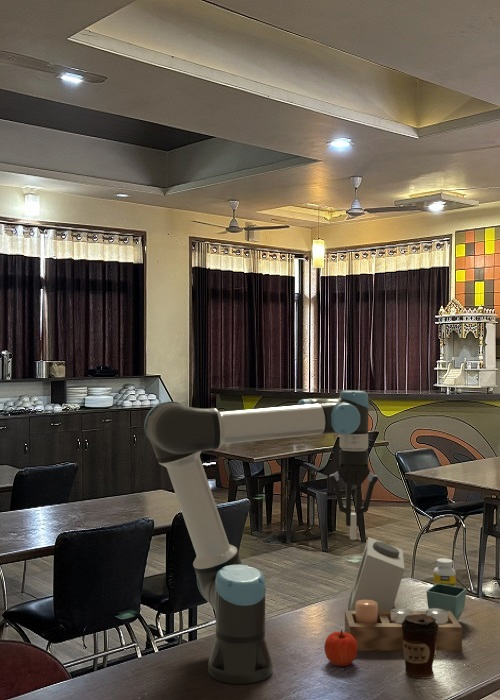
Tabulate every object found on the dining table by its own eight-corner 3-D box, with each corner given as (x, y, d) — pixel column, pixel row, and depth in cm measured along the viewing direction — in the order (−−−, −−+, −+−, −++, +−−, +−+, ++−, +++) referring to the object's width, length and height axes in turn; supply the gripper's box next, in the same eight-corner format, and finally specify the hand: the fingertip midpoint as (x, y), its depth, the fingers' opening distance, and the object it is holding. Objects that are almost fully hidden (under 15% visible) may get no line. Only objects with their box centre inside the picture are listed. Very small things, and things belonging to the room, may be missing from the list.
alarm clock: (349, 600, 236) (349, 532, 236) (402, 603, 234) (402, 535, 234) (346, 624, 216) (346, 550, 216) (404, 627, 214) (404, 552, 214)
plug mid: (392, 642, 200) (392, 615, 200) (389, 634, 206) (389, 607, 206) (414, 642, 200) (414, 615, 200) (410, 634, 206) (410, 608, 206)
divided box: (349, 650, 197) (349, 626, 197) (344, 632, 209) (344, 610, 209) (461, 651, 197) (461, 627, 197) (450, 633, 209) (450, 611, 209)
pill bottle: (434, 601, 235) (434, 562, 235) (432, 594, 241) (432, 557, 241) (456, 602, 234) (456, 563, 234) (454, 595, 240) (454, 557, 240)
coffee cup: (430, 684, 177) (430, 627, 177) (395, 676, 182) (395, 620, 181) (442, 671, 185) (443, 616, 184) (409, 663, 189) (409, 609, 189)
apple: (338, 654, 195) (338, 621, 195) (364, 663, 189) (364, 630, 189) (317, 663, 189) (317, 630, 189) (343, 673, 184) (343, 639, 184)
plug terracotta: (357, 634, 200) (357, 606, 200) (354, 626, 206) (354, 599, 206) (379, 634, 200) (379, 606, 200) (375, 626, 206) (375, 599, 206)
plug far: (427, 642, 200) (427, 615, 200) (423, 634, 206) (423, 608, 206) (450, 643, 200) (450, 615, 200) (445, 635, 206) (445, 608, 205)
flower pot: (467, 620, 219) (467, 588, 219) (457, 629, 212) (457, 596, 212) (436, 614, 224) (436, 582, 224) (425, 623, 216) (425, 591, 216)
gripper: (329, 450, 204) (328, 541, 205) (380, 451, 204) (379, 542, 204) (328, 446, 212) (327, 534, 212) (377, 447, 211) (376, 535, 211)
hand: (353, 538), depth 208 cm, fingers closed
